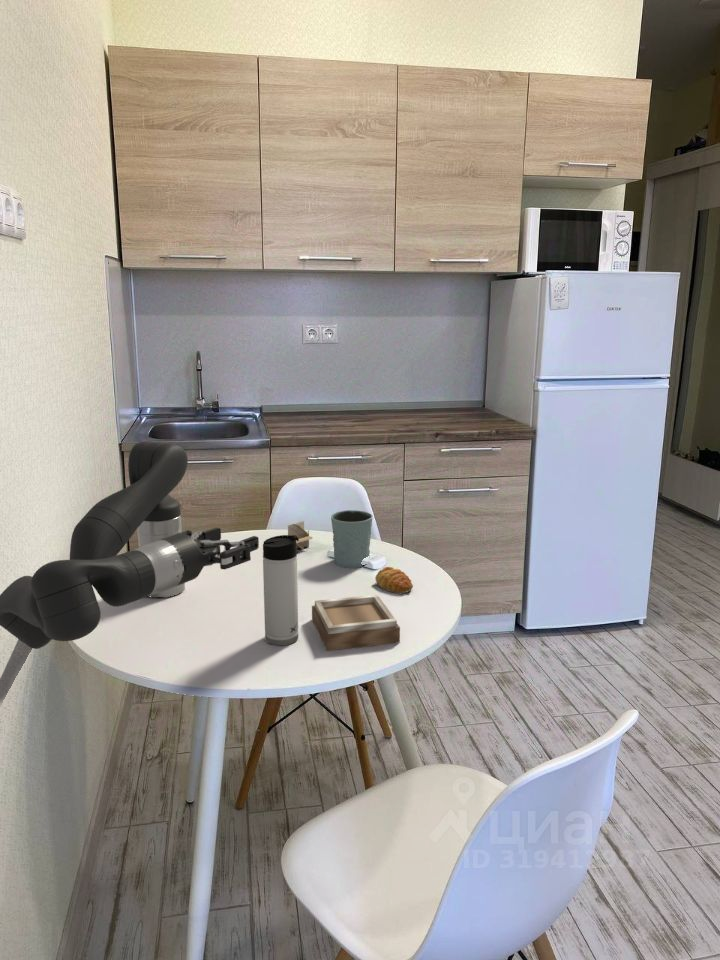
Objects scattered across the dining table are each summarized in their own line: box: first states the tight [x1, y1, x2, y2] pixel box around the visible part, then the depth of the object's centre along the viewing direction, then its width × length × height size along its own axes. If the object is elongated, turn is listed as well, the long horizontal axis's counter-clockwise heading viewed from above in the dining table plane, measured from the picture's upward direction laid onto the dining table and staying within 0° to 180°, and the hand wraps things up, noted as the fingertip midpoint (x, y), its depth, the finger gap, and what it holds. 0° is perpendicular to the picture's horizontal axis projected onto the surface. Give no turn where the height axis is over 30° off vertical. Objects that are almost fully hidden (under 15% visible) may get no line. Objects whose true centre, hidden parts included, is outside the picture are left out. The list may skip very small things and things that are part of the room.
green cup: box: [331, 509, 373, 569], centre depth 174 cm, size 10×10×12 cm
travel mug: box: [262, 534, 299, 646], centre depth 132 cm, size 6×7×20 cm
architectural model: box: [287, 520, 314, 550], centre depth 184 cm, size 3×7×7 cm, turn 137°
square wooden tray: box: [311, 594, 401, 652], centre depth 137 cm, size 14×14×4 cm
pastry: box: [375, 566, 414, 595], centre depth 160 cm, size 9×7×4 cm
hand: (238, 537), depth 120 cm, fingers open, 8 cm apart
